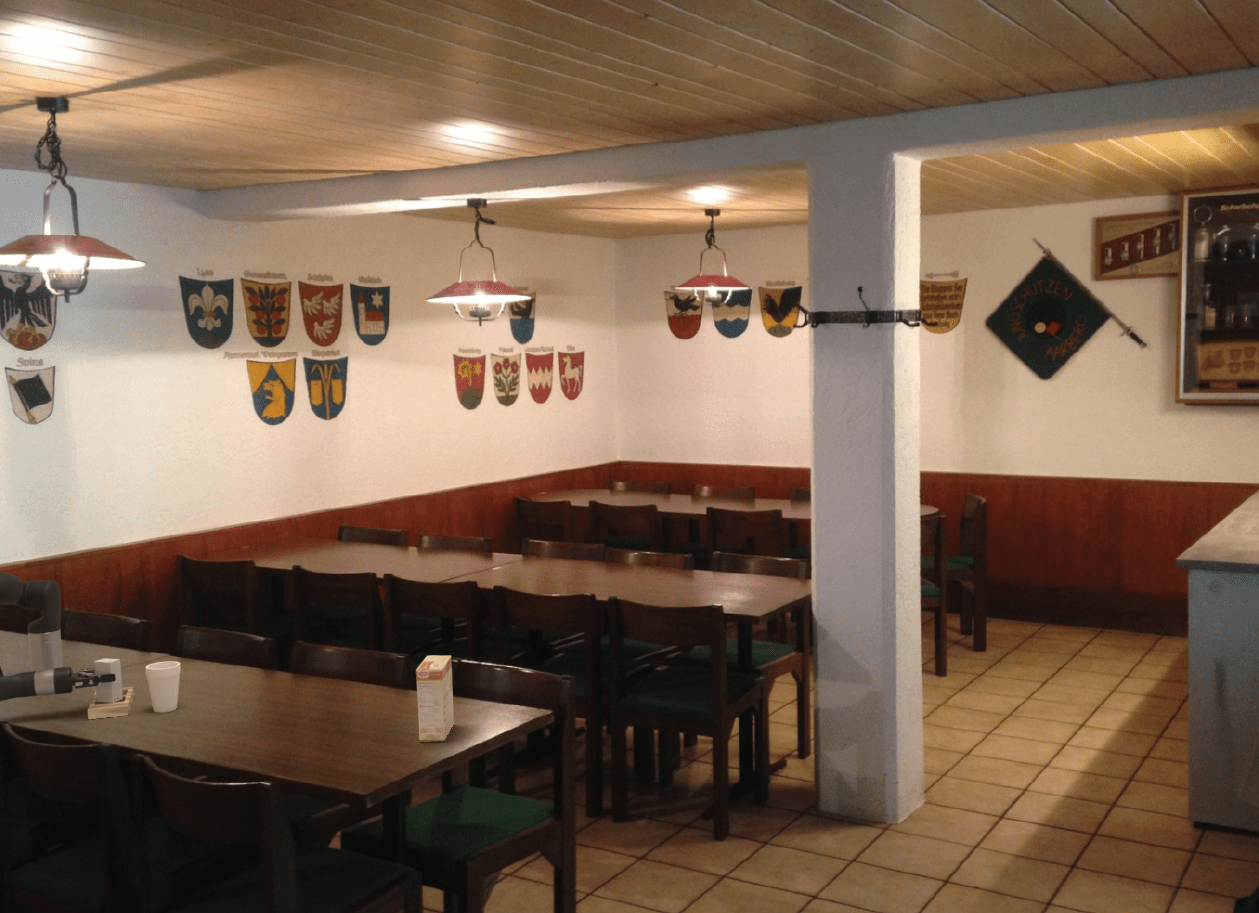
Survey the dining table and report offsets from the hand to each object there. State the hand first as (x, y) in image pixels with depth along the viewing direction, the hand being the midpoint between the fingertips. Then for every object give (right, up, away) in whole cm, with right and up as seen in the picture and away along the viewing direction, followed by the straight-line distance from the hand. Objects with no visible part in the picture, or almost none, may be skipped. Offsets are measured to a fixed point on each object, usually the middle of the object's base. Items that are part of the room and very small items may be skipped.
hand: (116, 674), depth 349 cm
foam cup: (+14, -10, 0) cm, 18 cm away
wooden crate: (-3, -10, +3) cm, 11 cm away
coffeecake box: (+98, -11, -30) cm, 103 cm away
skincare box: (-2, -8, 0) cm, 8 cm away
